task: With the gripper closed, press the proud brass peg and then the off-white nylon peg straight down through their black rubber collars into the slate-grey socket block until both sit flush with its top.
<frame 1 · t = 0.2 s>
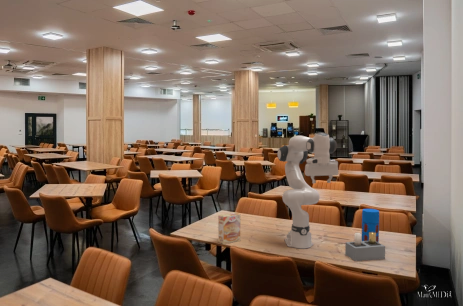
hand: (321, 183, 221), 48 cm above the table, fingers open, 8 cm apart
socket block: (364, 256, 232), on the table
thermos: (369, 247, 251), on the table
brass peg: (372, 238, 232), point 11 cm above the table, slide at 7.0 cm
nylon peg: (357, 239, 230), point 11 cm above the table, slide at 7.0 cm
coffeecake box: (229, 241, 264), on the table
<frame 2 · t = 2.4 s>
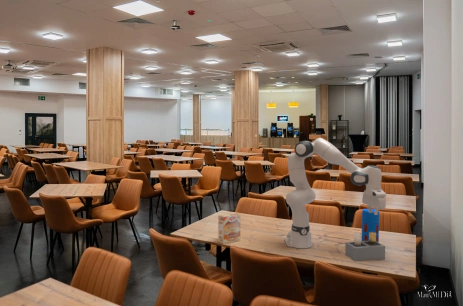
hand: (373, 213, 231), 27 cm above the table, fingers open, 4 cm apart
nothing on the table moved.
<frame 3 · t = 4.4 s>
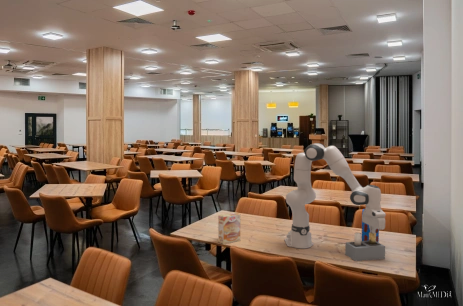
hand: (372, 232, 232), 15 cm above the table, fingers closed, pressing on brass peg
brass peg: (372, 239, 232), point 11 cm above the table, slide at 6.8 cm, touching gripper
everything else where it was.
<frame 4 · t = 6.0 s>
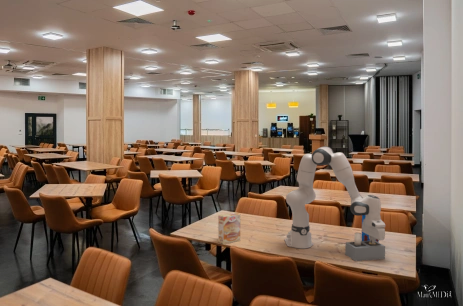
hand: (372, 243, 232), 8 cm above the table, fingers closed, pressing on brass peg
brass peg: (372, 249, 232), point 4 cm above the table, slide at 0.3 cm, touching gripper
everything else where it was.
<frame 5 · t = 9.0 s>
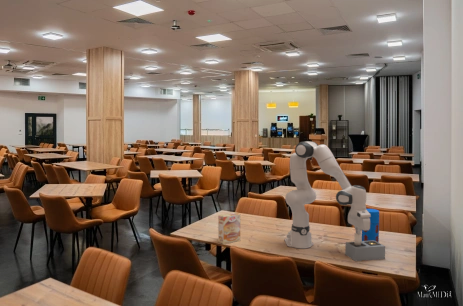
hand: (358, 233, 230), 15 cm above the table, fingers closed, pressing on nylon peg
brass peg: (372, 249, 232), point 4 cm above the table, slide at 0.3 cm
nylon peg: (357, 240, 230), point 11 cm above the table, slide at 6.8 cm, touching gripper
everything else where it was.
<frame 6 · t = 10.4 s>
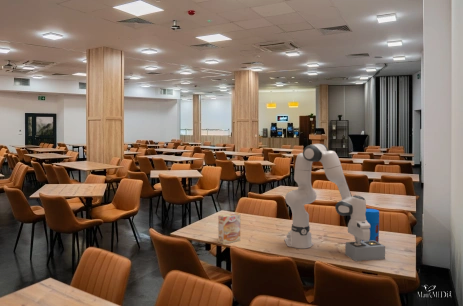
hand: (357, 244, 230), 8 cm above the table, fingers closed, pressing on nylon peg
nylon peg: (357, 250, 231), point 4 cm above the table, slide at 0.4 cm, touching gripper
everything else where it was.
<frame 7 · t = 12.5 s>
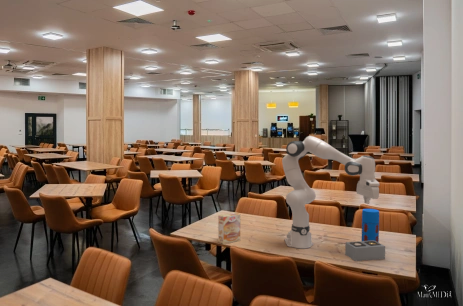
hand: (366, 203, 233), 33 cm above the table, fingers closed
nylon peg: (357, 250, 231), point 4 cm above the table, slide at 0.3 cm
everything else where it was.
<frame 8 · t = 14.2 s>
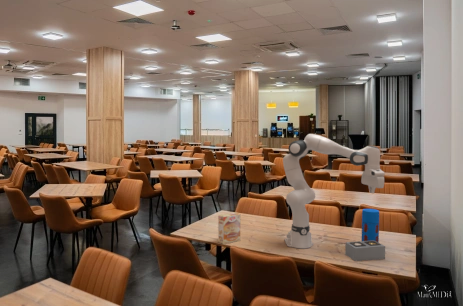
hand: (371, 193, 235), 39 cm above the table, fingers closed
nothing on the table moved.
at the end: brass peg slide at 0.3 cm; nylon peg slide at 0.3 cm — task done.
